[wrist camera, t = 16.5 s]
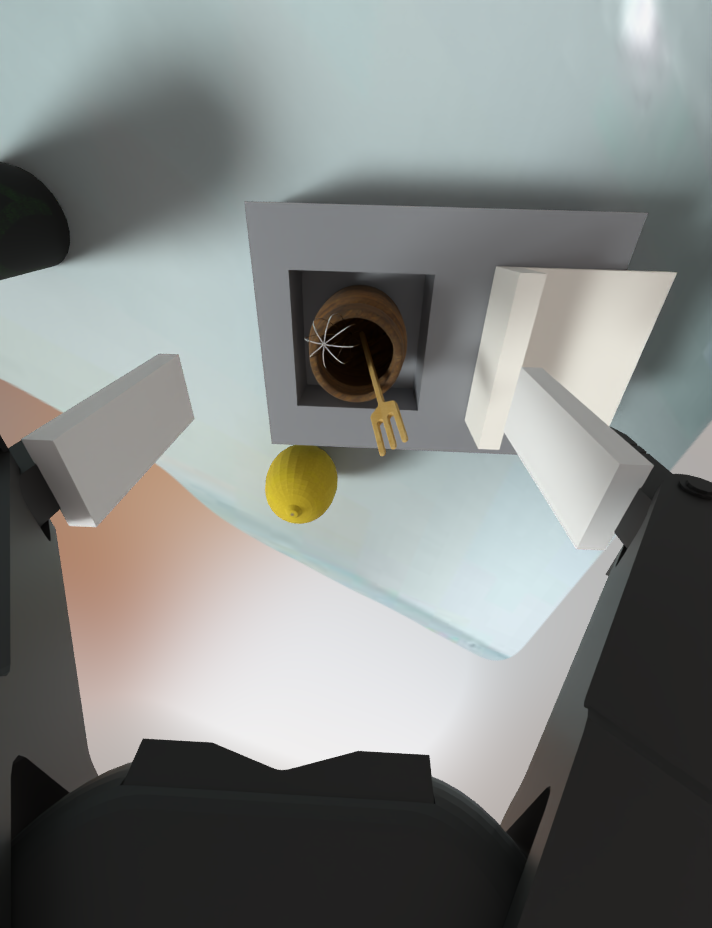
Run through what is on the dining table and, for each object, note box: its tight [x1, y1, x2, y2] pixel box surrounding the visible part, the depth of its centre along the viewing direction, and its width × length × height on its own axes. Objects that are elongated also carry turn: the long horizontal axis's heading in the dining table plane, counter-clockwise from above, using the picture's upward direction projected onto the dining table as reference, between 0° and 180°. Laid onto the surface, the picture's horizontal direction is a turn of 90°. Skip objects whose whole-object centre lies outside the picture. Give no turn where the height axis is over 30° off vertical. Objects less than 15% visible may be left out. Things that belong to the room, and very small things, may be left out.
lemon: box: [265, 445, 337, 524], centre depth 29 cm, size 6×6×8 cm
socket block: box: [244, 201, 648, 455], centre depth 24 cm, size 14×20×5 cm
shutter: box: [465, 266, 677, 450], centre depth 20 cm, size 9×9×4 cm
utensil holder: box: [304, 285, 408, 456], centre depth 20 cm, size 6×6×12 cm
